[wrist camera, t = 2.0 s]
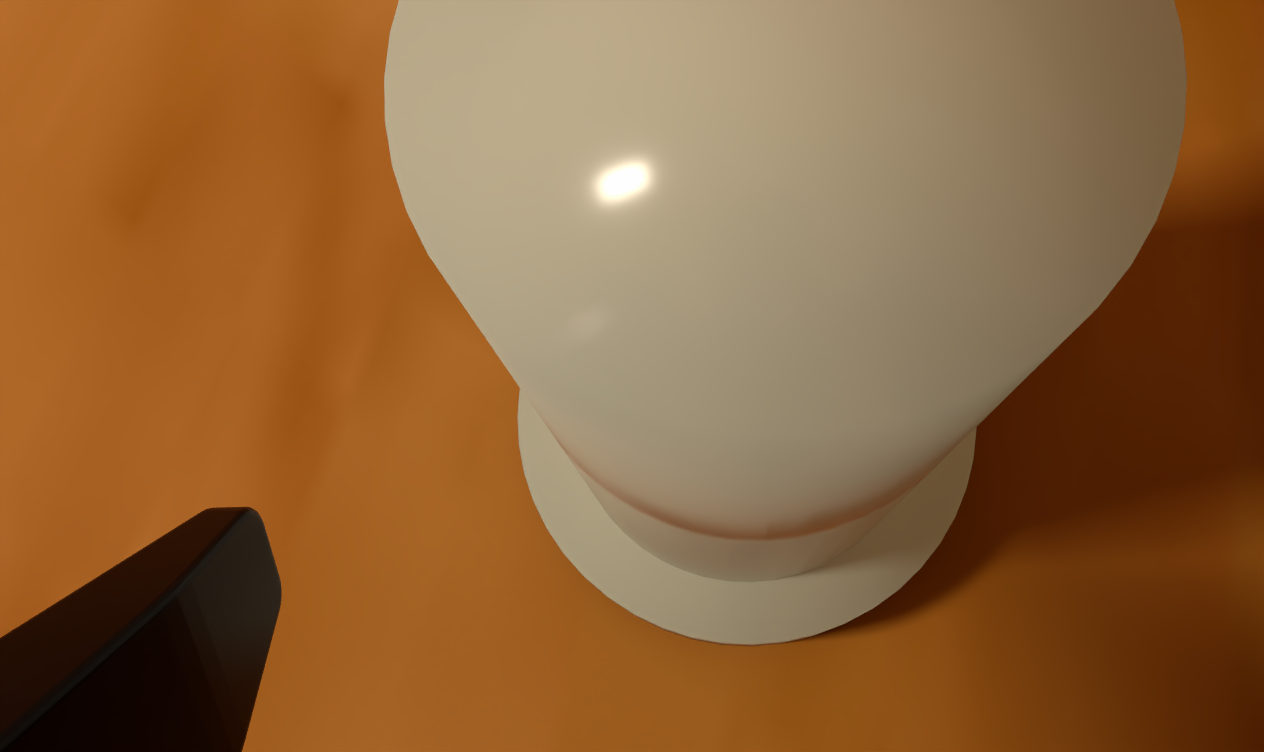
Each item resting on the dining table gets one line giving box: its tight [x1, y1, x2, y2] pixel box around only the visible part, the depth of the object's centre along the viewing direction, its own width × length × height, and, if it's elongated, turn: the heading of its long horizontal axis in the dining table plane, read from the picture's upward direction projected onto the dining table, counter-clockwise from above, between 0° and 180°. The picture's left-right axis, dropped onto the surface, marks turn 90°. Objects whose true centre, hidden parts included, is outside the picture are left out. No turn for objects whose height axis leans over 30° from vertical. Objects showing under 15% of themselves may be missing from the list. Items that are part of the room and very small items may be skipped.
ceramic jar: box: [384, 0, 1187, 646], centre depth 14 cm, size 8×8×12 cm
